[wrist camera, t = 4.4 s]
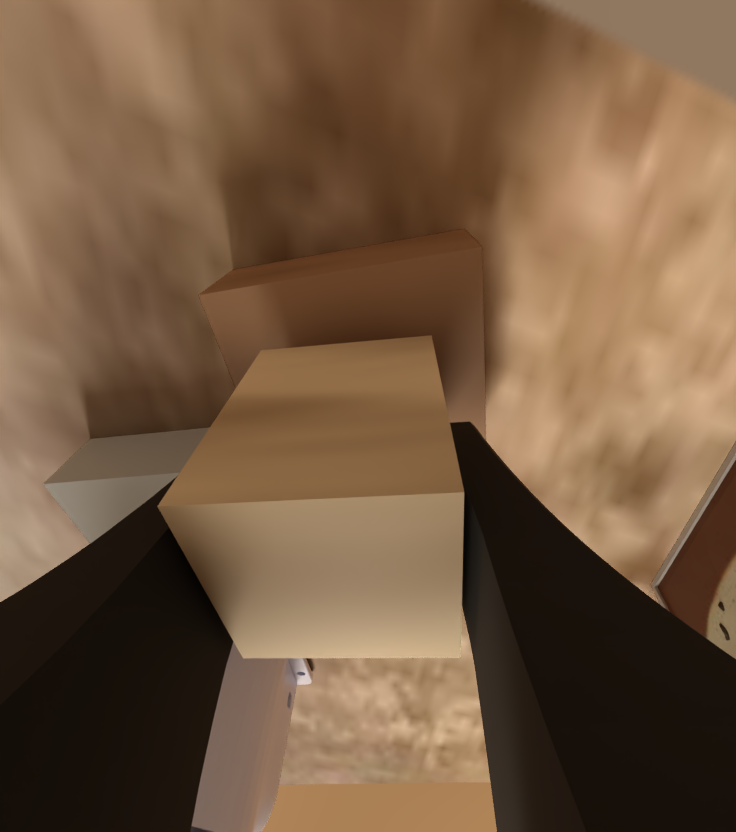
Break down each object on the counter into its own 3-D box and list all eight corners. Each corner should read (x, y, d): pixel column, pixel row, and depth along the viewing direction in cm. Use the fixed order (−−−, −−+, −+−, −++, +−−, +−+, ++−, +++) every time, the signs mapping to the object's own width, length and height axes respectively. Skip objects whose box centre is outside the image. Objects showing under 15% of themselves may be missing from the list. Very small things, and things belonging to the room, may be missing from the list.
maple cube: (435, 469, 11) (460, 657, 7) (296, 476, 12) (243, 658, 7) (431, 335, 9) (464, 492, 5) (261, 350, 9) (156, 505, 5)
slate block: (298, 536, 20) (285, 593, 17) (165, 544, 20) (134, 599, 18) (256, 418, 16) (230, 468, 13) (95, 434, 17) (43, 484, 14)
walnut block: (471, 423, 15) (486, 476, 13) (296, 443, 16) (278, 496, 14) (462, 226, 12) (482, 246, 9) (236, 266, 13) (198, 295, 10)
